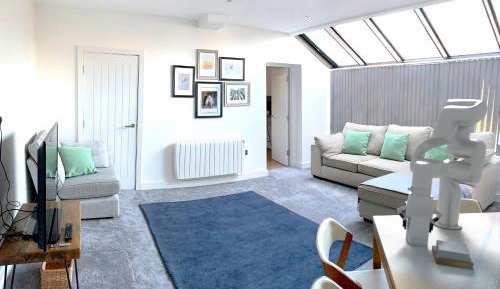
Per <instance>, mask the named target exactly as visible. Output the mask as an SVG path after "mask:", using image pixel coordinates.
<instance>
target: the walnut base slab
mask: <svg viewBox="0 0 500 289" xmlns="http://www.w3.org/2000/svg"><path fill="white" fill-rule="evenodd" d="M431 247H432V248H431V252H432V256H433V259H434V261H435V264H436V265H439V266H447V267H451V268H452V267H453V268H458V269H464V270H471V271H473V270H474V266H475V263H474V262H473V260H472V258H471V257H470V258H469V262H464V261H458V260H452V259H446V258H440V257H438V254H437V249H436V245H433V244H432V245H431Z"/></svg>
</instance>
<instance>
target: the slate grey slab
mask: <svg viewBox="0 0 500 289" xmlns="http://www.w3.org/2000/svg"><path fill="white" fill-rule="evenodd" d="M435 242H436V244H435V246H436V249H437V254H438V257H440V258H446V259H452V260H458V261H464V262H469V258H471V257H470V256H471V253H470V252H469V248H468V247H467V244H466V243H461V242H453V241H447V240H443V239H442V240H440V239H436V240H435Z"/></svg>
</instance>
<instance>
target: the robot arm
mask: <svg viewBox="0 0 500 289" xmlns="http://www.w3.org/2000/svg"><path fill="white" fill-rule="evenodd" d="M487 113H488V104H487V102H486V101H484V100H482V99H466V98H465V99H462V98H454V99H452V98H451V99H448V100H447V101H446V102H445V103H444V107H442V108H441V109H440V111H439V114H438V115H437V119H436V121H435V125H434V128H433V130H432V133H431V135H430V136H429V137H427V138H426V139H424V140H423V141H422V142H420V143H419V144H418V145H417V146H416V148H415V149H414V151H413V154H412V156H411V160H410V161H409V162H410V163H409V169H410V172H411V173H412V176H411V177H412V178H411V186H408V187H407V191H410V192H409V193H408V196H407V200H406V204H405V205H403V206H400V207H398V208H396V211H397V214H398V215H399V217H400V218H401V219H402V225H401V226H402V227H403V230H405V231H406V229H407V218H408V217H410V218H411V216H412V215H414V216H423V217H430V226H429V234H431V233H432V231H434V226H436V227H438V228H442V229H445V230H460V229H461V228H462V223H461V222H460V221H459V218H460V210H461V200H462V194H463V193H462V187H461V185H460V183H463V184H468V185H477V184H479V183H480V181H481V180H482V175H483V170H484V165H485V160H486V157H487V156H486V155H487V145H486V143H485V142H484V141H483V140H480V139H475V138H470V137H471V131H472V127H474V126H475V125H476V124H478V123H479V122H481V120H483V119H484V118H485V117H486V116H487ZM443 146H446V150H445V152H446V154H447V155H448V156H449V157H452V158H457V159H462V160H463V159H464V160H469V161H470V162H467V161H462V160H461V161H460V160H456V159H445V160H443V161H442V160H438V159H432V158H425V157H424V155H425V154H427V152H429V151H431V150H432V149H436V148H439V147H443ZM433 179H439V181H438V182H439V184H438V194H437V195H438V196H437V204H436V209H434V196H433V194H432V185H433ZM402 211H405V213H403V212H402ZM434 214H435V215H436V216H435V217H433V216H434Z"/></svg>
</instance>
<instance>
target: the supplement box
mask: <svg viewBox="0 0 500 289" xmlns="http://www.w3.org/2000/svg"><path fill="white" fill-rule="evenodd" d="M429 226H430V217H423V216H414V215H412V216H411V218H410V217H408V218H407V226H406V230H405V239H406V241H407V243H408V244H409V245H412V246H419V247H420V246H421V247H428V246H429V245H428V244H429V237H430V236H429V235H430V233H429Z"/></svg>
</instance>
